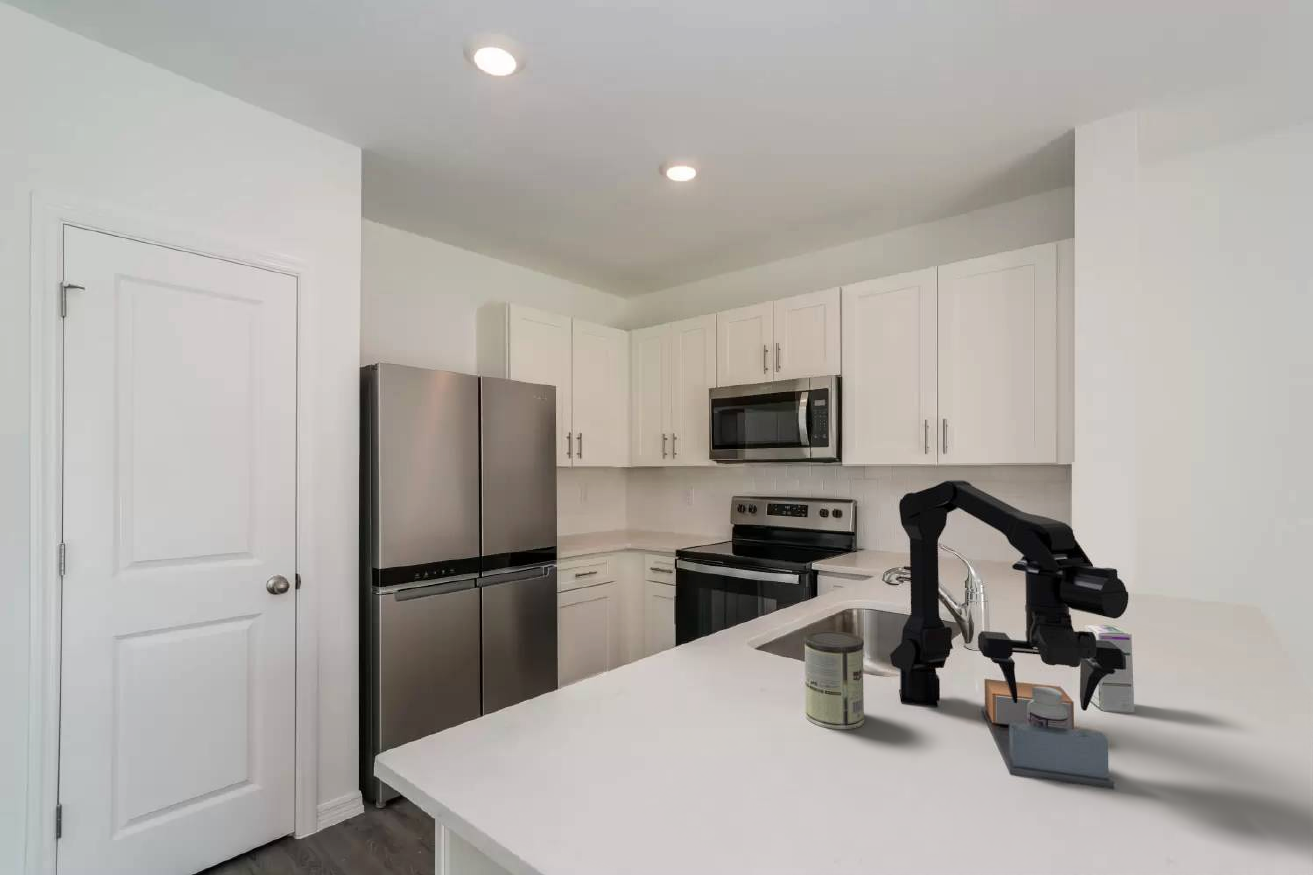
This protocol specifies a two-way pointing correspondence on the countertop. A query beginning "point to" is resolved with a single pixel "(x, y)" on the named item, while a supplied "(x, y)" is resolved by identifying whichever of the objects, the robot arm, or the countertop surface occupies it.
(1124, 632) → the syrup box
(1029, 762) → the base
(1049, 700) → the pill bottle
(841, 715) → the coffee can
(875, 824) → the countertop surface
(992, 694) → the block
